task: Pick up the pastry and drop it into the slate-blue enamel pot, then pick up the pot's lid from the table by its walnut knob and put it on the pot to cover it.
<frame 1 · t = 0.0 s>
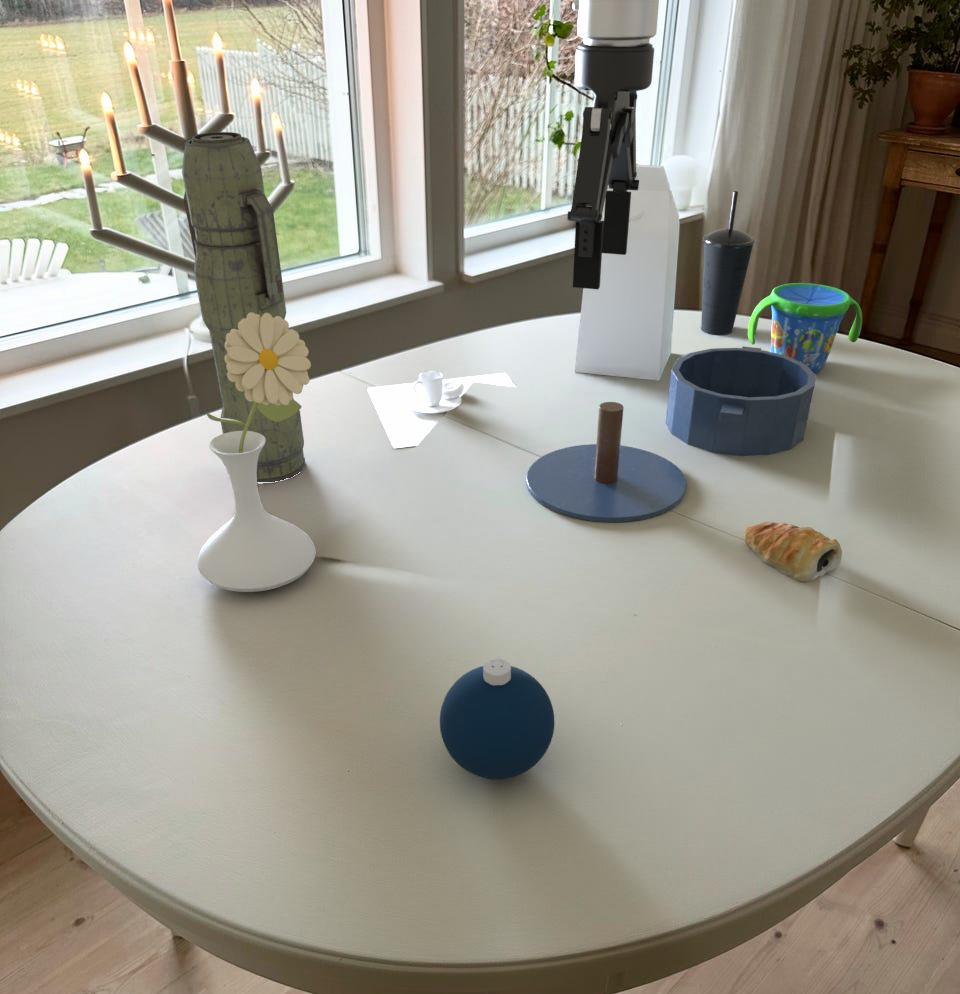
hand: (600, 269, 104), 21 cm above the table, tool pointing down, fingers open, 13 cm apart
pastry: (790, 564, 95), on the table
lid: (605, 483, 107), point 1 cm above the table
thermos: (268, 468, 113), on the table
teacup and saucer: (453, 409, 126), on the table
pot: (734, 430, 120), on the table
snack cup: (796, 366, 137), on the table
milk: (623, 363, 139), on the table
drinking cup: (716, 330, 150), on the table
christmas ornament: (496, 764, 72), on the table
flower in vase: (268, 571, 95), on the table
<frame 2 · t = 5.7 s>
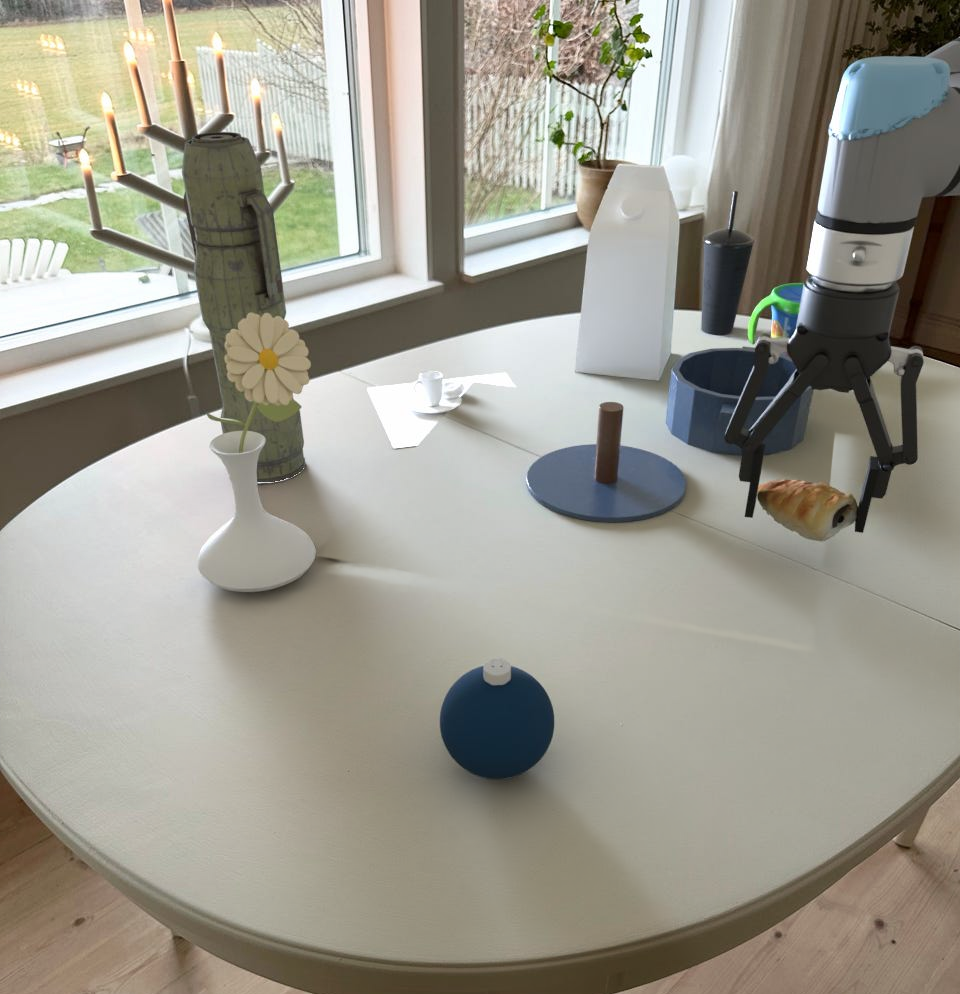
hand: (803, 517, 92), 5 cm above the table, tool pointing down, fingers closed on pastry, 9 cm apart
pastry: (804, 522, 92), point 5 cm above the table, touching gripper
everything else where it was.
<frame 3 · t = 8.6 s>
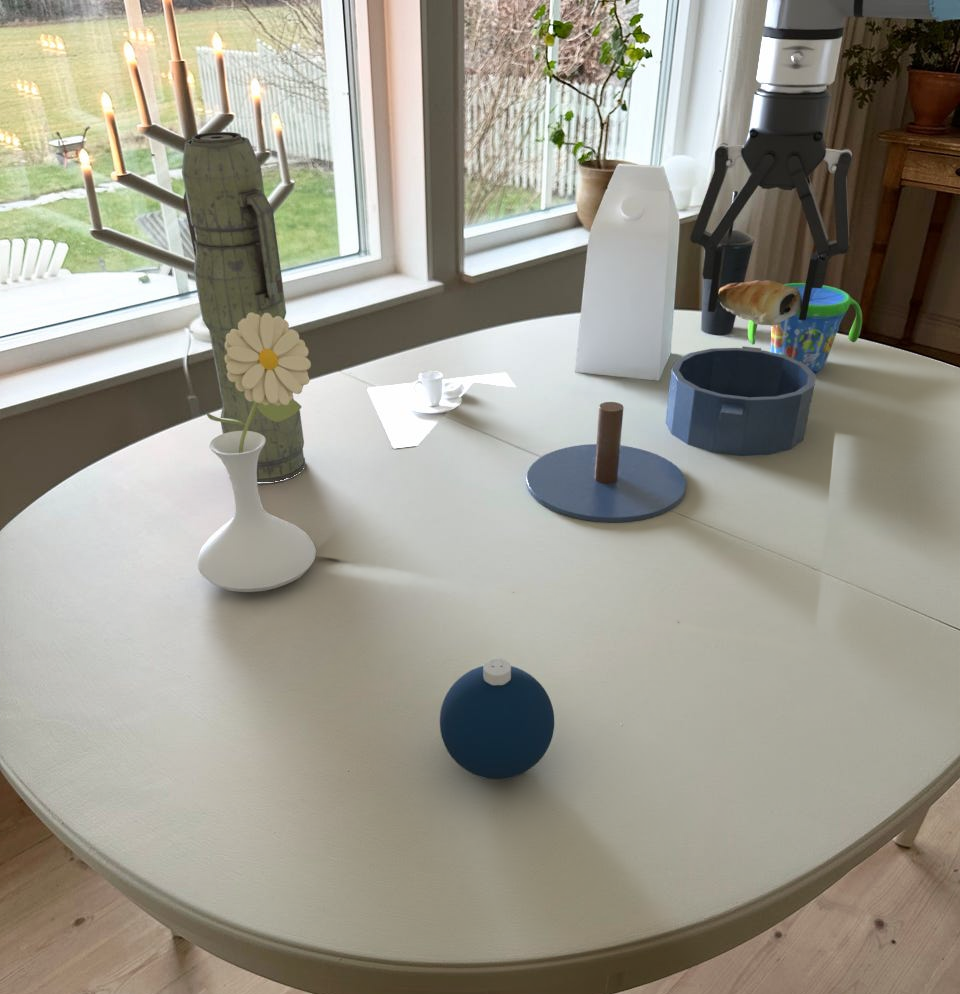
hand: (757, 312, 109), 15 cm above the table, tool pointing down, fingers closed on pastry, 9 cm apart
pastry: (757, 316, 109), point 15 cm above the table, touching gripper
everything else where it was.
when the fingers open (5 cm above the table, at t = 11.6 s): pastry drops 4 cm, resting on pot.
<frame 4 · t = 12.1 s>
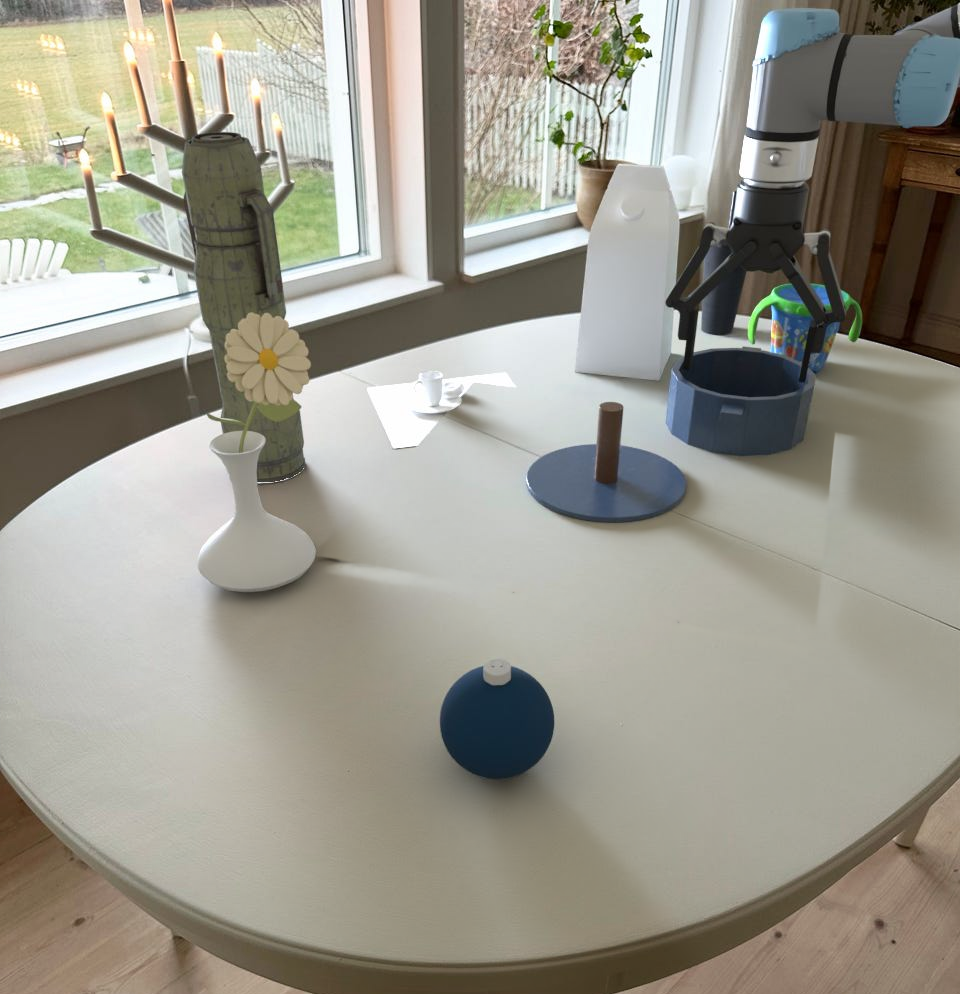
hand: (744, 372, 115), 7 cm above the table, tool pointing down, fingers open, 13 cm apart
pastry: (735, 427, 120), resting on pot
everything else where it was.
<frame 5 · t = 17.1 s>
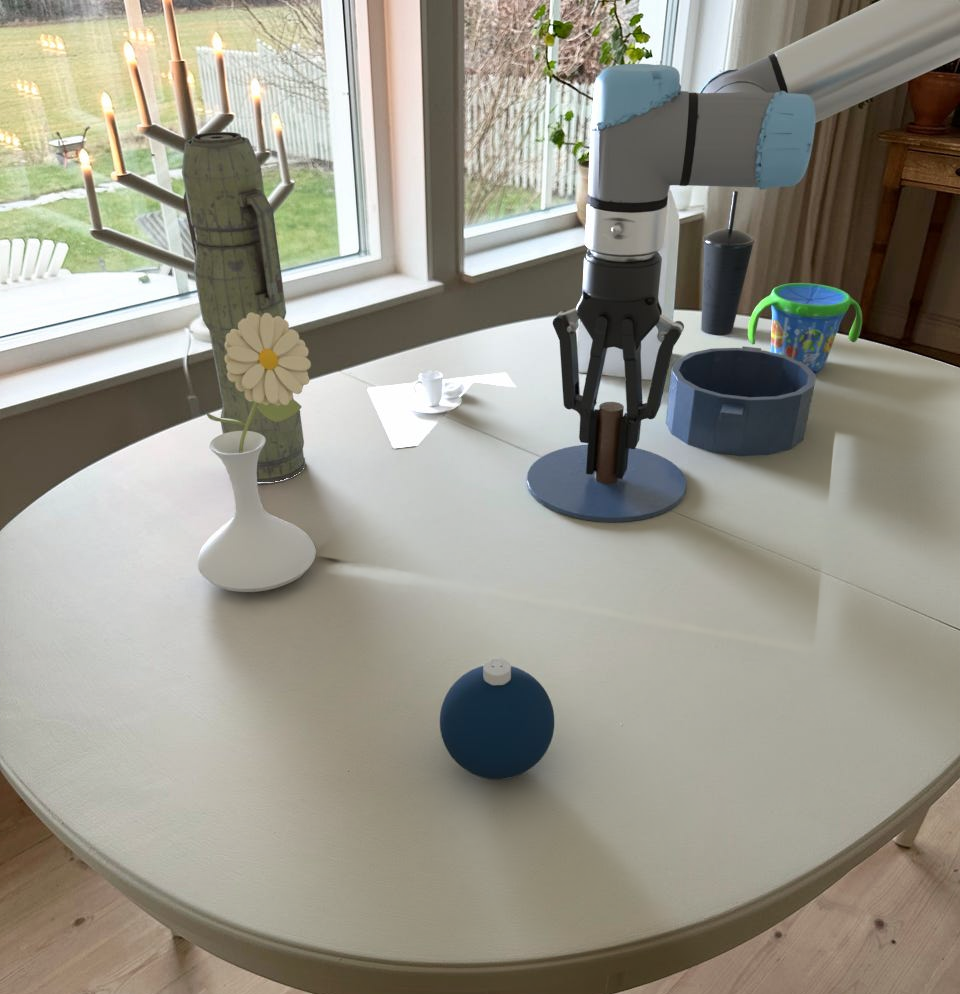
hand: (606, 470, 106), 2 cm above the table, tool pointing down, fingers closed on lid, 3 cm apart
lid: (605, 483, 107), point 1 cm above the table, touching gripper
everything else where it was.
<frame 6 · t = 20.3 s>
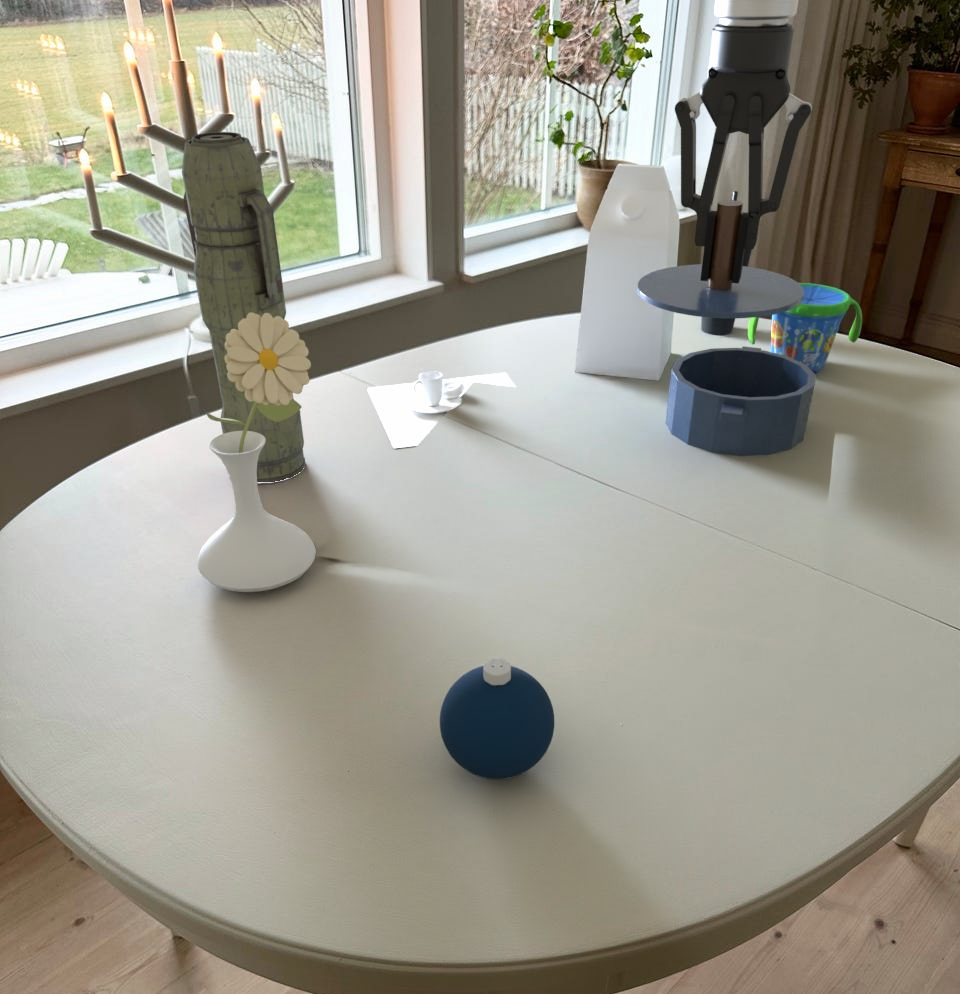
hand: (720, 278, 104), 20 cm above the table, tool pointing down, fingers closed on lid, 3 cm apart
lid: (718, 292, 105), point 19 cm above the table, touching gripper
everything else where it was.
when the fingers open (9 cm above the table, at t = 23.8 s): lid stays where it is, resting on pot.
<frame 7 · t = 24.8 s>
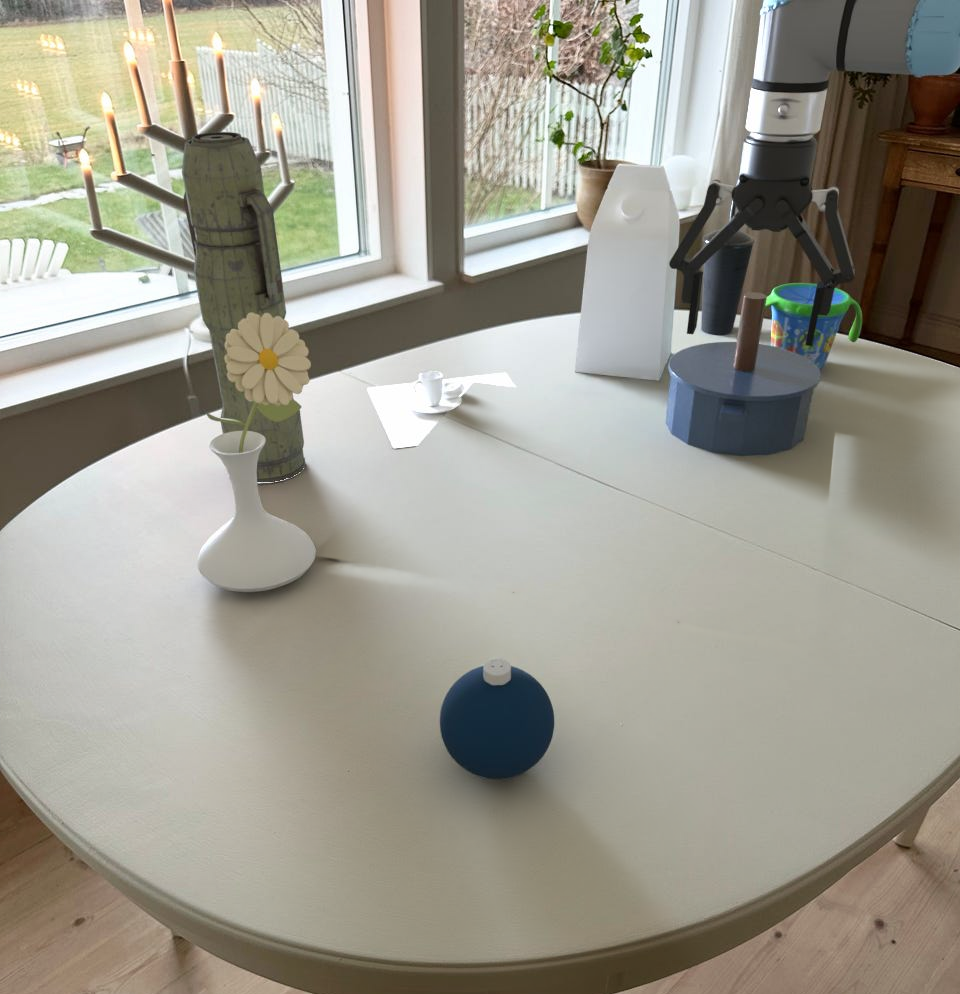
hand: (749, 336, 113), 12 cm above the table, tool pointing down, fingers open, 13 cm apart
lid: (743, 372, 115), point 7 cm above the table, touching pot
everything else where it was.
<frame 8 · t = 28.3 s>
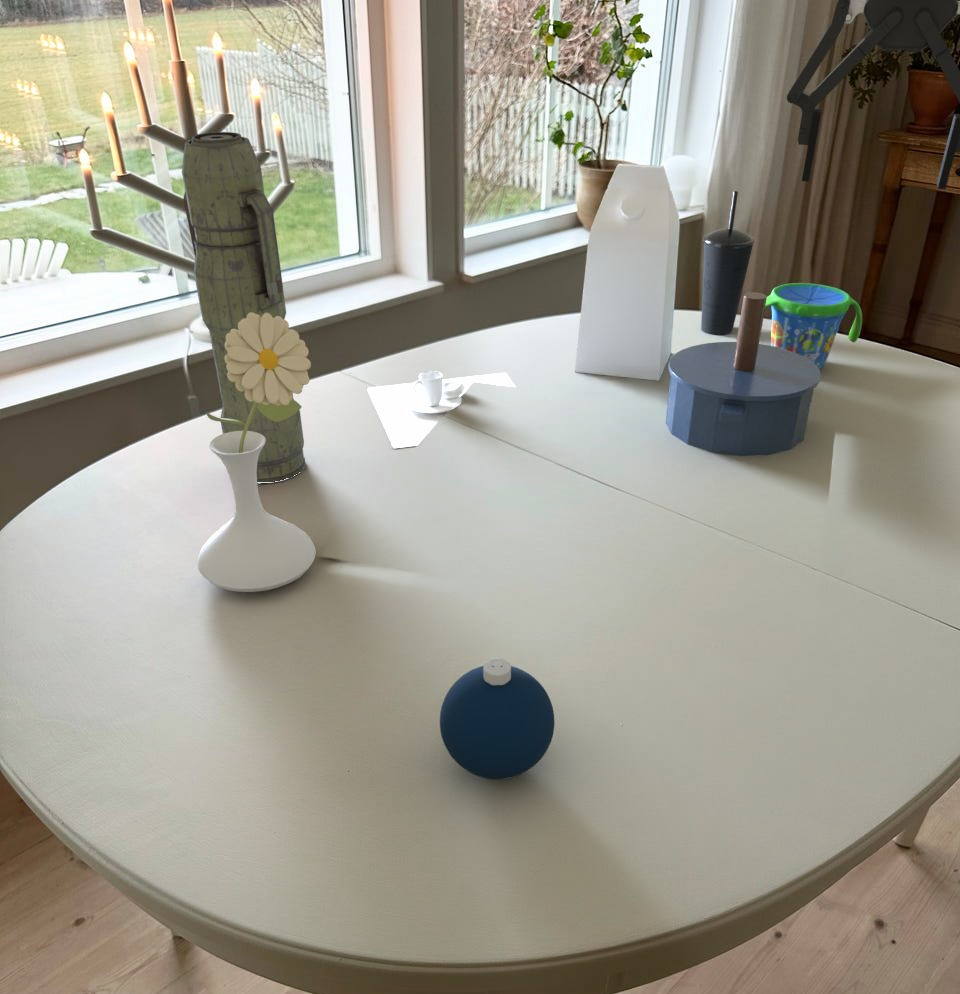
hand: (872, 182, 101), 29 cm above the table, tool pointing down, fingers open, 13 cm apart
nothing on the table moved.
at the end: pastry inside the target area in the pot (0.1 cm from its centre), point 0.3 cm above the pot's base; lid 0.0 cm off-centre on the pot, point 7.5 cm above the pot's base; lid tilted 0° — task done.
